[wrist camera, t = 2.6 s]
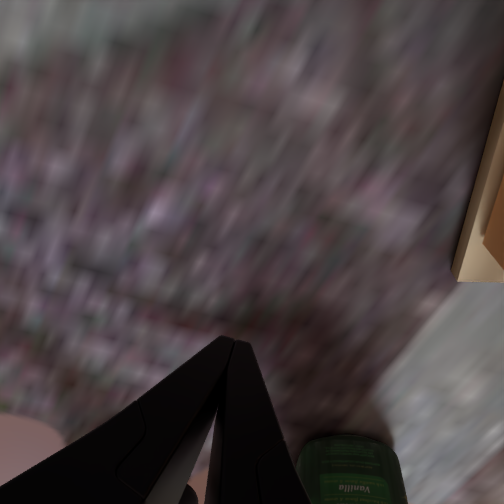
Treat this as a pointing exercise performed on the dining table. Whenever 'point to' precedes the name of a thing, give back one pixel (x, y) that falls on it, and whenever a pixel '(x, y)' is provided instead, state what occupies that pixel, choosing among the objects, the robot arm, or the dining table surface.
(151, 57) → the dining table surface
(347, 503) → the coffee jar
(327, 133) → the dining table surface
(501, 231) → the plunger
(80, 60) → the dining table surface
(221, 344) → the robot arm
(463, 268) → the wooden base with posts
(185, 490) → the supplement bottle
